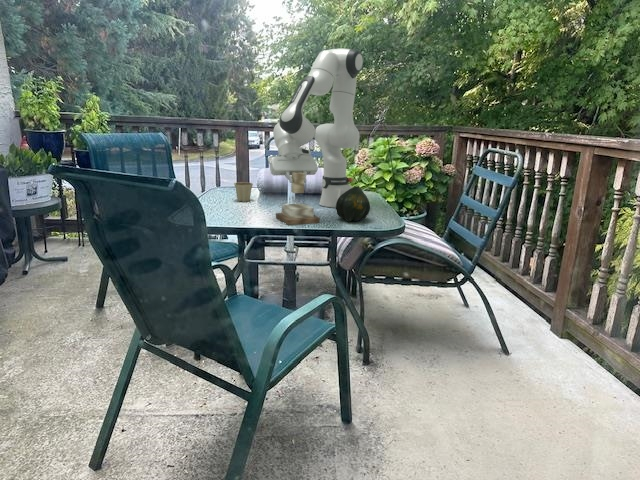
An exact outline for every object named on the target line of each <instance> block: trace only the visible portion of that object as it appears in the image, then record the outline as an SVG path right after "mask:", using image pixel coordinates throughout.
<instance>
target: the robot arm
mask: <svg viewBox="0 0 640 480" xmlns="http://www.w3.org/2000/svg"><path fill="white" fill-rule="evenodd" d="M363 57H364V56H363V54H362V53H361V51H360V50H358V49H356V48H355V49H354V48H343V47H342V48H341V47H340V48H332V49H329V48H326V49H322V50H321V51H319V52H318V54H317V56H316V58H315V60H314V62H313V64H312V66H311V69H310V70H309V74H308V75H306V76H305V77H303V78H302V79H301V81H300V82H299V83H298V85H297V87H296V89H295V91H294V93H293V95H292V97H290V98H291V99H290V100H289V102H288V105H286V107H285V108H284V110H282V112H281V113H280V116H279V122H277V124H275V126H274V128H273V130H272V131H273V139H274V144H275V147H276V148H277V153H278V154H276V155H273V154H271V155H269V156H268V157H267V162H268V164H269V171H270V175H272V176H274V177H275V176H284V177H285V178H286V179H287V180H288V182H289V183H290V184H291V183H294V178H293V177H292V172H301V173H305V176H304V184H305V183H307V176H313V175H315V174H316V173H317V172H318V169H319V168H318V164H317V162H316V160H315V158H314V157H313V156H312V151H311V150H309V149H306V148H302V147H303V146H305V145H307V144H309V143H310V142H312V141H313V140H315V142H316V143H317V144H318V146H319V148H320V151H321V155H322V159H323V175H322V180H321V183H322V184H321V187H322V189H321V196H320V200H319V202H318V203H319V204H318V205H320V206H322V207H326V208H335V209H336V203H337V200H338V198H339V197H340V196H341V195H342V194H343V193H345V192H346V191H348V190H349V189H351V188H353V187H354V186H351V184H350V183H353V181H354V179H353V178H352V177H348V176H347V163H348V162H347V158H346V157H344V155H343V154H342V150H341V149H349V148H354V147H356V146H357V145H358V143H359V141H360V138H361V135H360V132H359V129H358V128H357V127H356V125H355V121H354V116H353V112H354V103H355V98H356V91H357V76H358V75H359V73H360V72H361V71H362V69H363V66H364V58H363ZM331 89H332V91H331ZM330 91H331V94H330V100H329V107H328V108H329V109H328V110H329V111H330V113H331V114H333V119H334V120H333V123H329V122H327V123H323V124H319V125H318V126H317V127H316V128H315V126H314V124H313V123H312V122H311V121H310V120H309V119H308V118H307V117H306V116H305V115H304V113H303V110H304V107H305V105H306V103H307V101H308V99H309V98H310V96H311V95H313V96H318V97H320V96H325V95H326V94H328V93H329V92H330Z"/></svg>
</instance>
